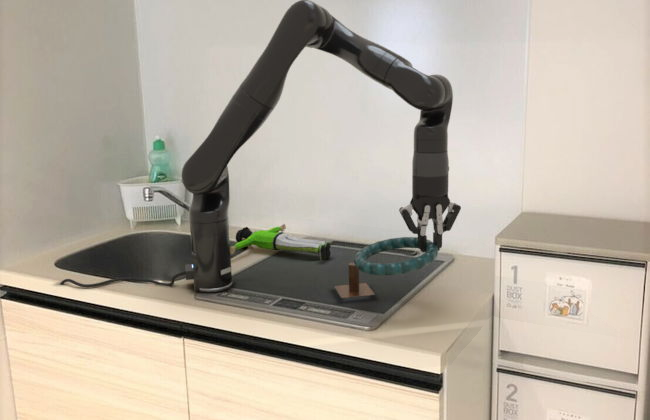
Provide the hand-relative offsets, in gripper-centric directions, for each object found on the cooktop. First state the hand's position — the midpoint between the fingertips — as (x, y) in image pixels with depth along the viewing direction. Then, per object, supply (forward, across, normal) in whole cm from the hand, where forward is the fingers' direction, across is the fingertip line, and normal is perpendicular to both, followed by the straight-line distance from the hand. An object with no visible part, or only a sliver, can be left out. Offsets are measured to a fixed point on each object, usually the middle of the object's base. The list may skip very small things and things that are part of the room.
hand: (429, 250), depth 148 cm
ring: (0, +8, 0) cm, 8 cm away
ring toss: (+14, +14, -13) cm, 23 cm away
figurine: (+14, +26, -50) cm, 58 cm away
